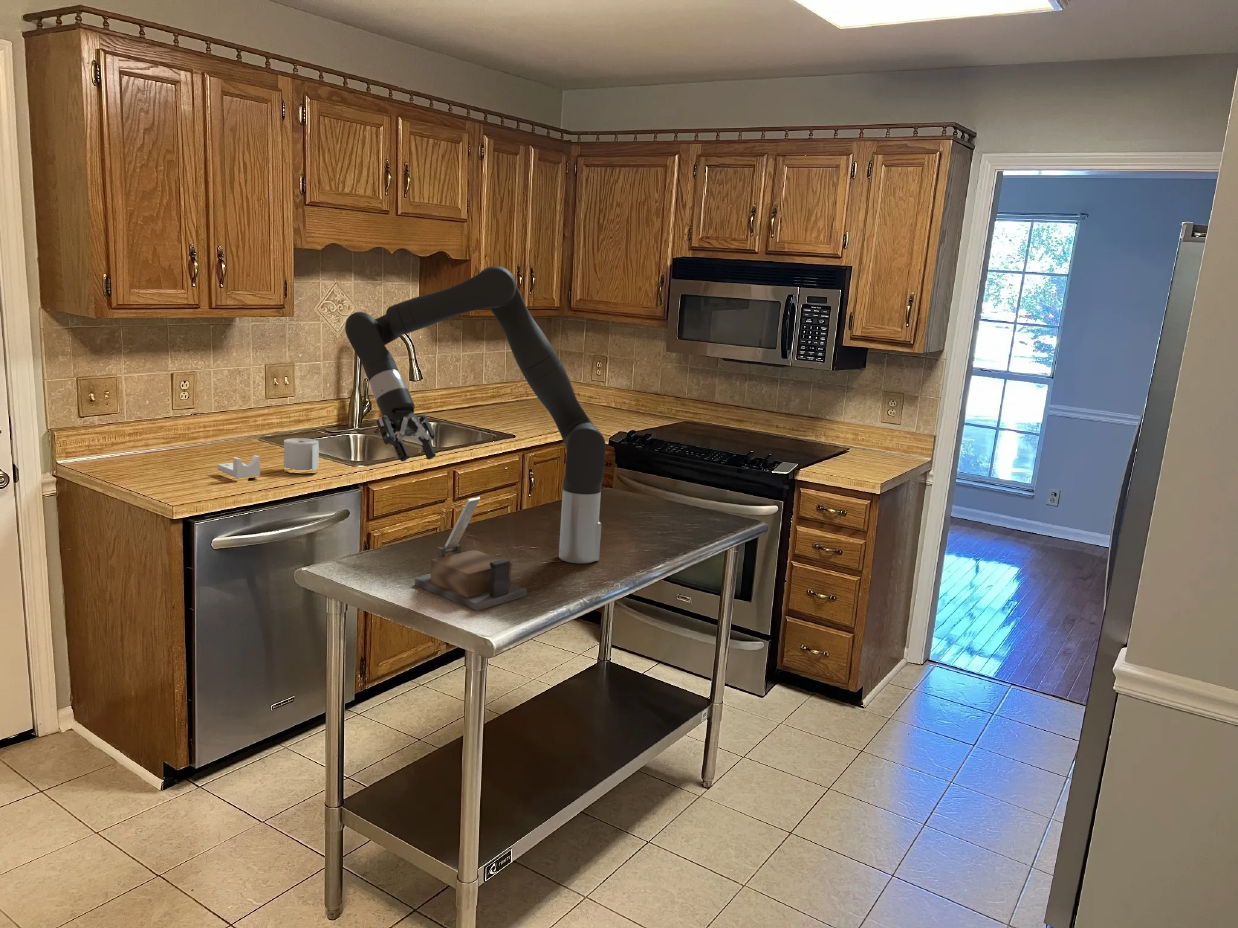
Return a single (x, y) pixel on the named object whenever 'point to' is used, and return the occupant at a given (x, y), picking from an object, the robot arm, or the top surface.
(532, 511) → the top surface
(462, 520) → the strap
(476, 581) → the latch block
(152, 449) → the top surface
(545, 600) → the top surface
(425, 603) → the top surface
